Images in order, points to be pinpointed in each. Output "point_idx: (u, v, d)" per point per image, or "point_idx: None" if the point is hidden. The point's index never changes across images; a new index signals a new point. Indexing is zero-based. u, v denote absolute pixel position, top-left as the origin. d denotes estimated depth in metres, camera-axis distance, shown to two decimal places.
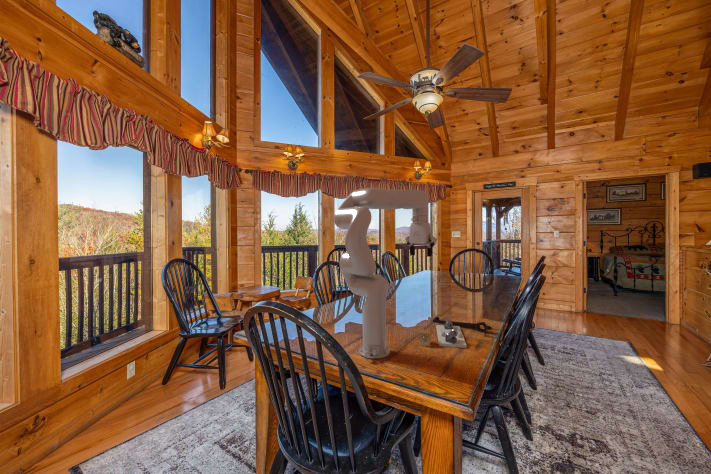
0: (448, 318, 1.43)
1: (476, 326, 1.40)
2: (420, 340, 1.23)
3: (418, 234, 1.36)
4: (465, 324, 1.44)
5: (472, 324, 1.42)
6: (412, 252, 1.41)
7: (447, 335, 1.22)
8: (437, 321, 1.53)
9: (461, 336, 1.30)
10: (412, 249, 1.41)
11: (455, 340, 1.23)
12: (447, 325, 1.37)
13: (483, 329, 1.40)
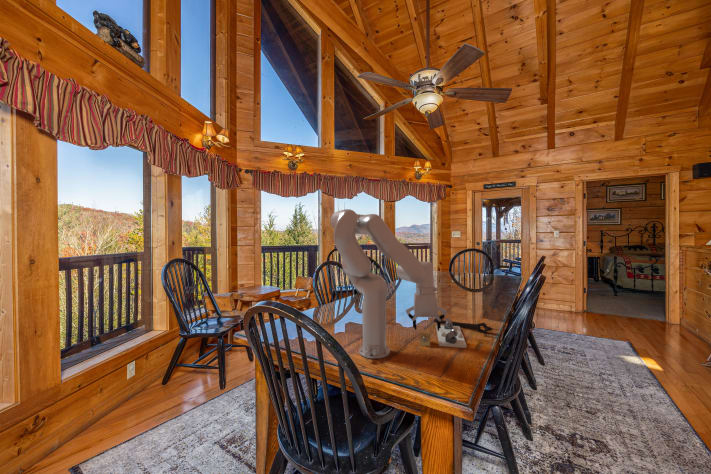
0: (448, 318, 1.43)
1: (476, 327, 1.39)
2: (420, 340, 1.23)
3: None
4: (466, 325, 1.43)
5: (472, 325, 1.41)
6: None
7: (447, 335, 1.22)
8: None
9: (461, 336, 1.30)
10: (437, 322, 1.25)
11: (455, 340, 1.23)
12: (447, 325, 1.37)
13: (483, 330, 1.39)
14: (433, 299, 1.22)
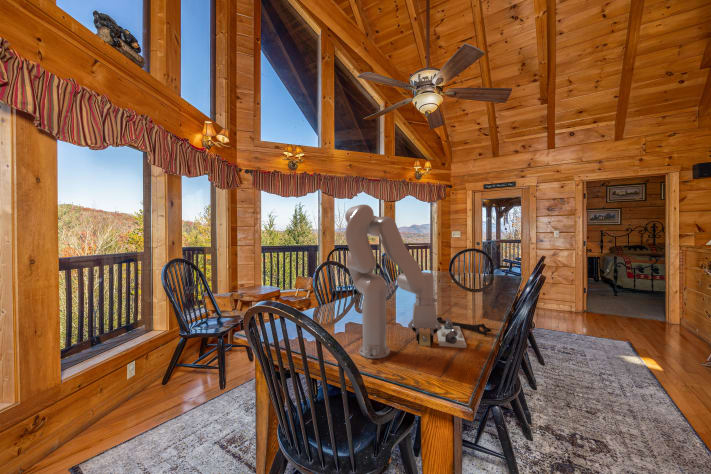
0: (448, 318, 1.43)
1: (475, 328, 1.38)
2: (420, 340, 1.23)
3: None
4: (465, 325, 1.42)
5: (472, 326, 1.40)
6: None
7: (447, 335, 1.22)
8: (439, 321, 1.53)
9: (461, 336, 1.30)
10: None
11: (455, 340, 1.23)
12: (447, 325, 1.37)
13: None
14: (432, 310, 1.22)
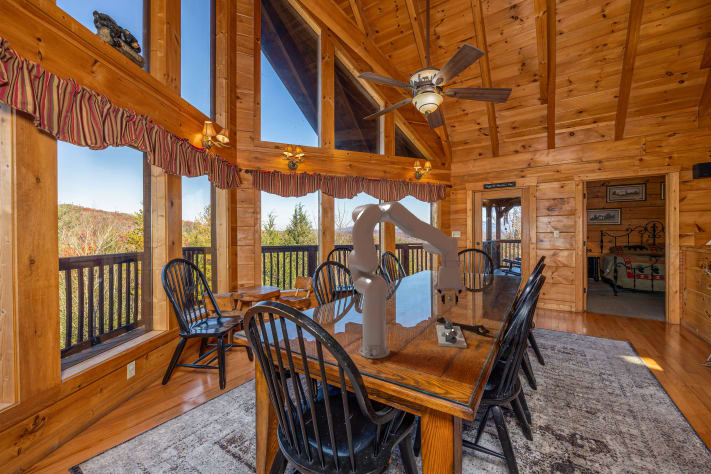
0: (448, 318, 1.43)
1: (475, 329, 1.37)
2: (446, 300, 1.30)
3: None
4: (465, 326, 1.41)
5: (471, 326, 1.38)
6: None
7: (447, 335, 1.22)
8: (440, 321, 1.53)
9: (461, 336, 1.30)
10: None
11: (455, 340, 1.23)
12: (447, 325, 1.37)
13: None
14: (457, 272, 1.29)
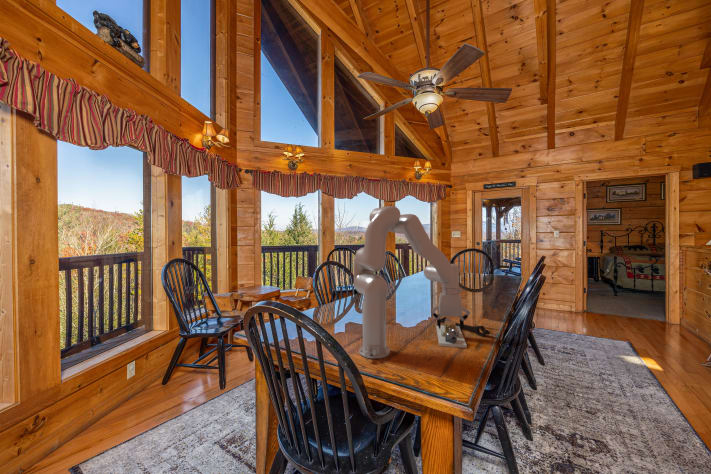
0: (448, 318, 1.43)
1: (475, 329, 1.36)
2: (446, 331, 1.31)
3: None
4: (465, 326, 1.40)
5: (472, 327, 1.38)
6: (460, 325, 1.32)
7: (447, 335, 1.22)
8: (442, 321, 1.53)
9: (461, 336, 1.30)
10: (460, 322, 1.32)
11: (455, 340, 1.23)
12: None
13: None
14: (457, 299, 1.29)
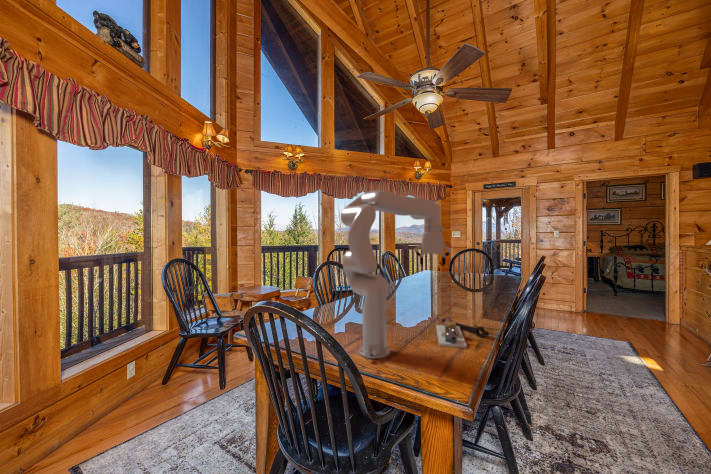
0: (448, 318, 1.43)
1: (475, 330, 1.35)
2: (446, 331, 1.31)
3: None
4: (466, 327, 1.39)
5: (472, 328, 1.36)
6: None
7: (447, 335, 1.22)
8: None
9: (461, 336, 1.30)
10: None
11: (455, 340, 1.23)
12: None
13: None
14: (439, 237, 1.35)
